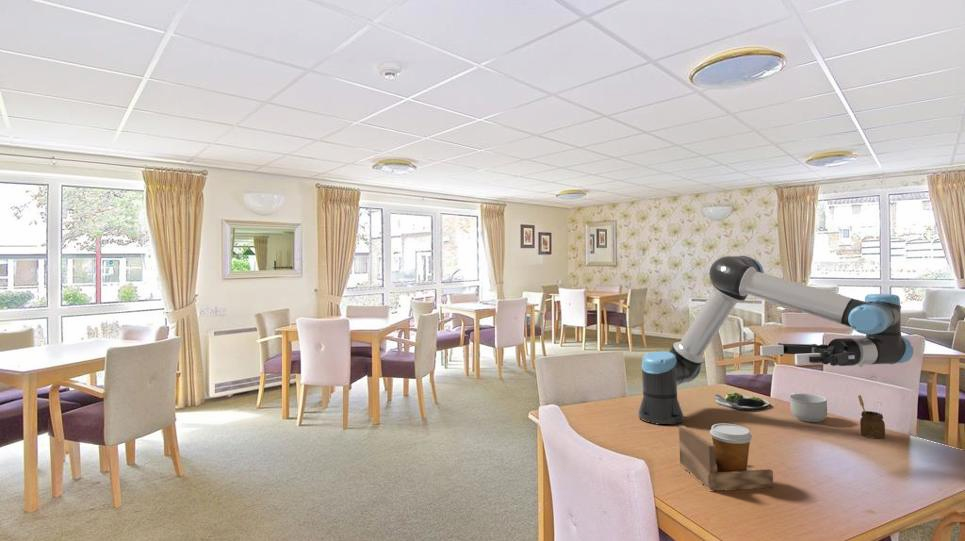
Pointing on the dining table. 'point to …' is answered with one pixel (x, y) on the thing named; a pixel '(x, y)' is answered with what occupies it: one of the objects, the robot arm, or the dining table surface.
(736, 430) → the disposable coffee cup
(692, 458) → the cradle
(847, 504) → the dining table surface
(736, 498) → the dining table surface
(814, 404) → the teacup
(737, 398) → the salad plate
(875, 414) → the utensil holder
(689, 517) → the dining table surface
